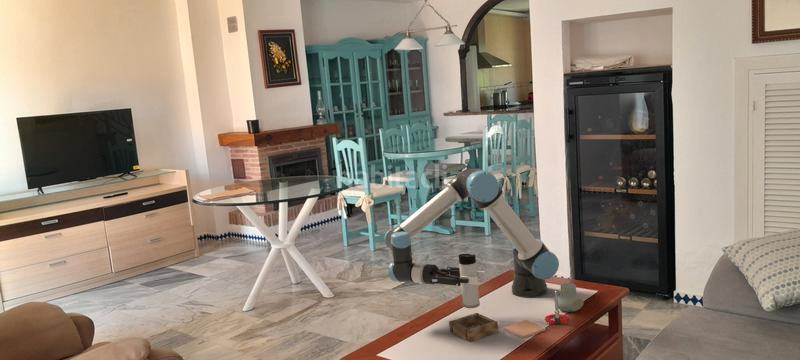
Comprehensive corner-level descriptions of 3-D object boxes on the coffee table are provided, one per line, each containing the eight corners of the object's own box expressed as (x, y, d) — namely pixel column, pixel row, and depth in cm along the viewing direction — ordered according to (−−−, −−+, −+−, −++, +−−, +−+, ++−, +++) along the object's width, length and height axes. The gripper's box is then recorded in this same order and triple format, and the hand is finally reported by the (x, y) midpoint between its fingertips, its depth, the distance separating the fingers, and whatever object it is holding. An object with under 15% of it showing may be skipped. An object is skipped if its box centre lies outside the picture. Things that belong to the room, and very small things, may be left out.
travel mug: (459, 307, 238) (454, 255, 235) (469, 301, 243) (465, 250, 240) (472, 310, 234) (467, 257, 231) (483, 304, 239) (478, 252, 235)
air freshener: (570, 303, 260) (569, 279, 258) (587, 308, 253) (585, 283, 252) (551, 310, 254) (550, 286, 252) (568, 315, 247) (566, 290, 246)
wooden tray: (477, 322, 249) (476, 312, 248) (498, 332, 237) (497, 322, 237) (449, 331, 243) (448, 321, 242) (469, 341, 231) (468, 331, 231)
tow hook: (544, 317, 249) (546, 325, 240) (542, 284, 248) (544, 291, 239) (566, 316, 248) (569, 324, 239) (565, 284, 246) (567, 290, 237)
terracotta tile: (526, 321, 245) (526, 319, 245) (545, 330, 235) (545, 328, 235) (503, 329, 240) (503, 327, 240) (522, 338, 230) (522, 336, 230)
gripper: (438, 275, 255) (492, 279, 243) (414, 291, 239) (471, 296, 227) (436, 257, 254) (490, 260, 242) (412, 272, 237) (469, 276, 225)
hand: (481, 277), depth 234 cm, fingers closed on travel mug, 6 cm apart
